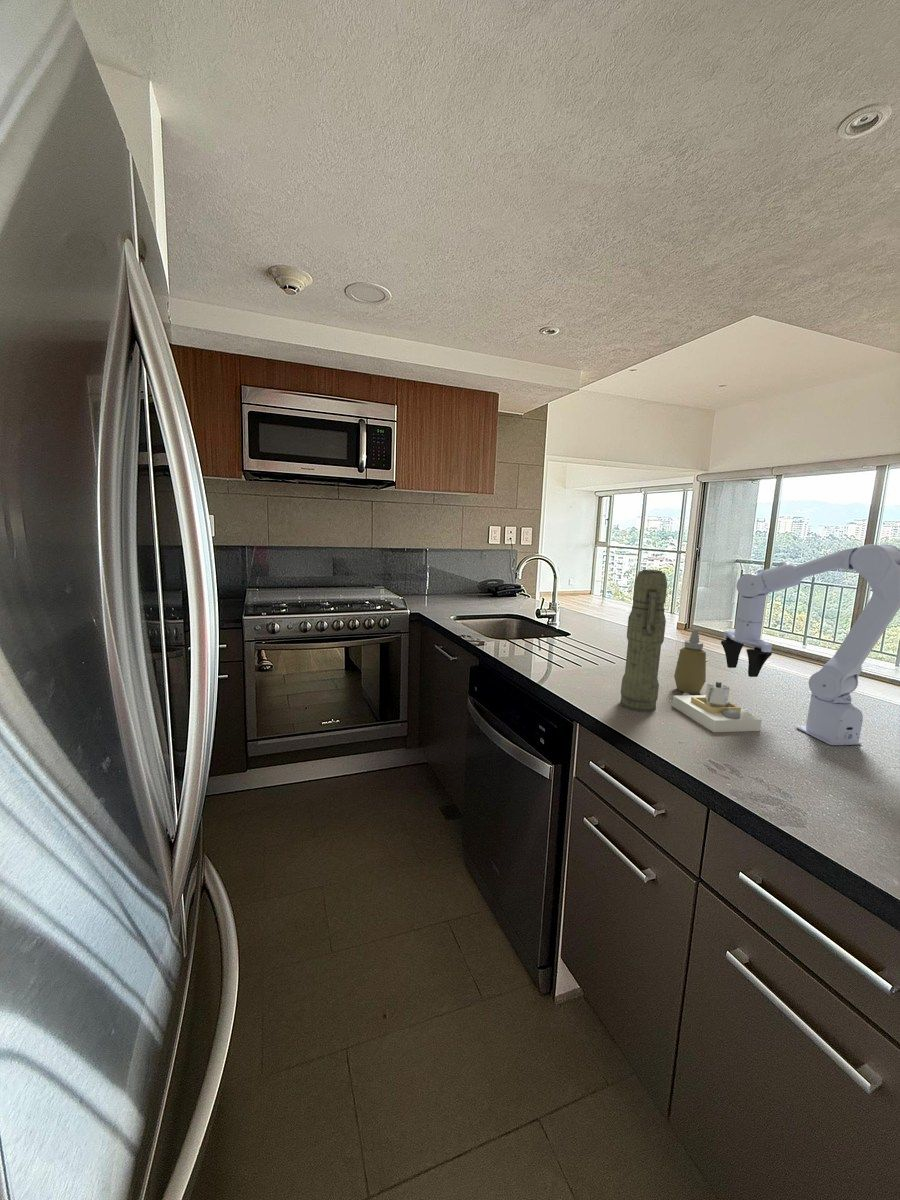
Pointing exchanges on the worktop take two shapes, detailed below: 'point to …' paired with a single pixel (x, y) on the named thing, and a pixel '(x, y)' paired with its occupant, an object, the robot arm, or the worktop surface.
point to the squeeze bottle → (691, 666)
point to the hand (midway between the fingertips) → (741, 671)
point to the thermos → (644, 642)
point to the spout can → (717, 695)
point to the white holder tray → (716, 714)
